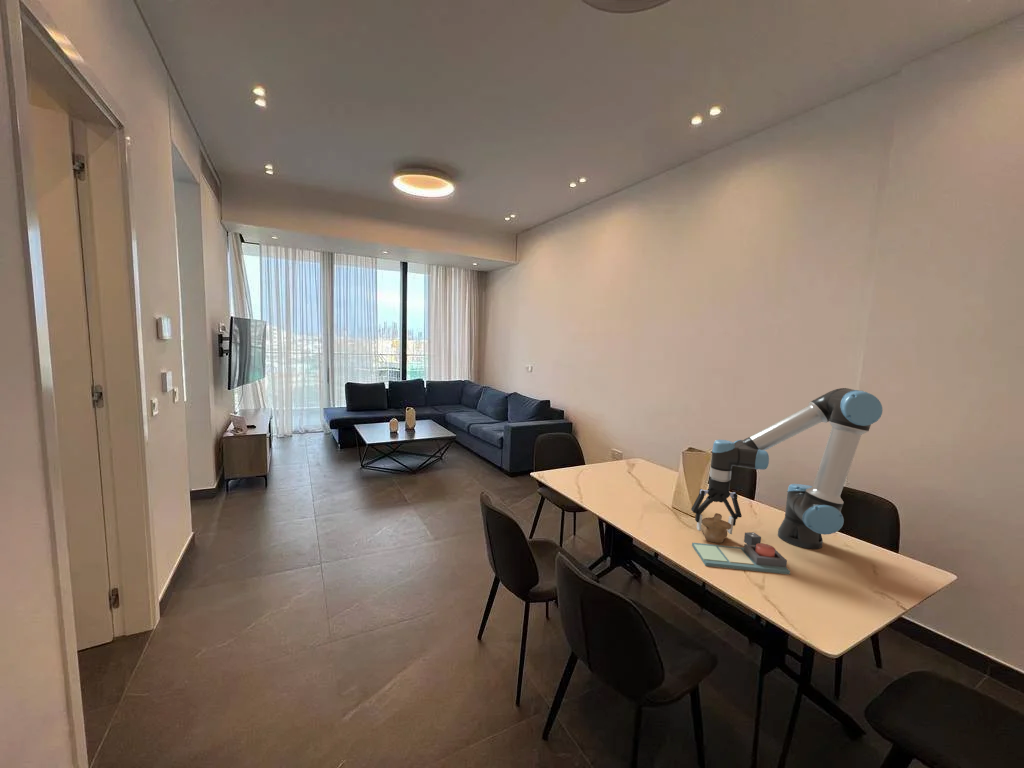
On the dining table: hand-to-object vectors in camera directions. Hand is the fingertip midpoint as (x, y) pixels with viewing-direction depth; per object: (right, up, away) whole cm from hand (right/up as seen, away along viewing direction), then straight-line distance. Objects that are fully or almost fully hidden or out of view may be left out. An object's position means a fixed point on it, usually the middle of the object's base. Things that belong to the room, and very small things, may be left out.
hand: (714, 531), depth 166 cm
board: (+1, -5, -15) cm, 16 cm away
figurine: (0, -4, 0) cm, 4 cm away
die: (+14, -4, -2) cm, 15 cm away
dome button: (+10, -4, -16) cm, 20 cm away
